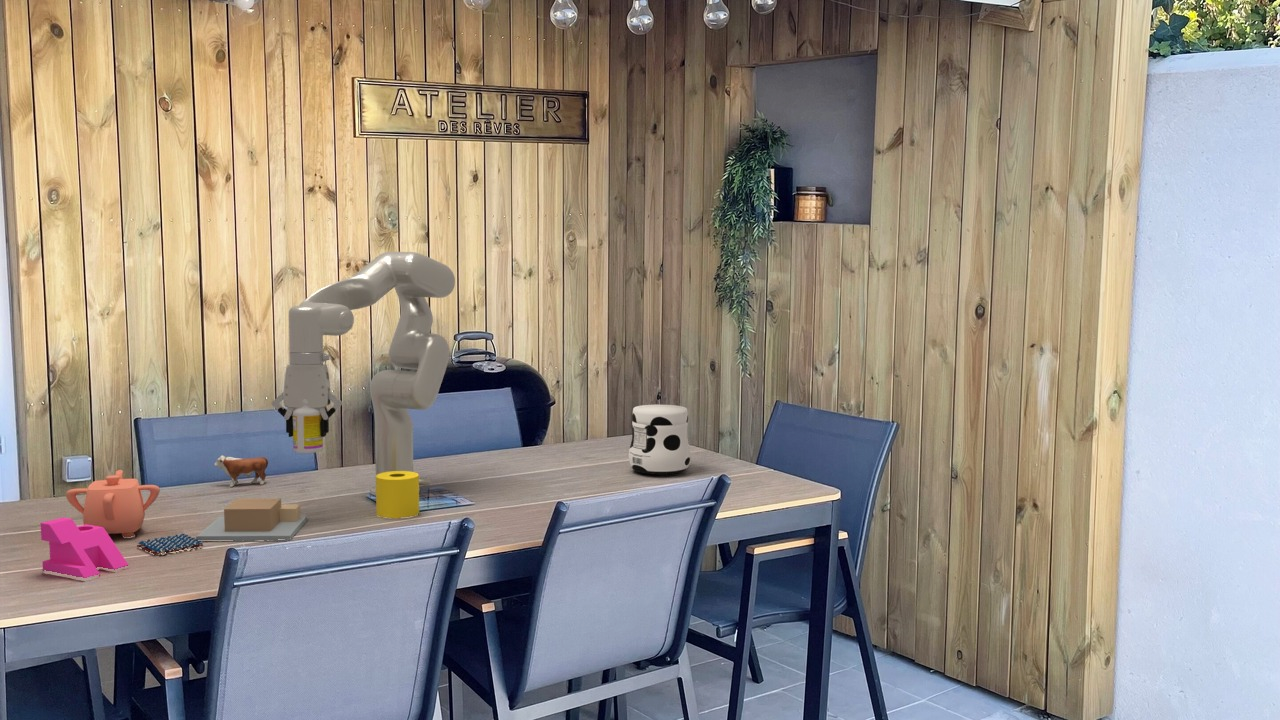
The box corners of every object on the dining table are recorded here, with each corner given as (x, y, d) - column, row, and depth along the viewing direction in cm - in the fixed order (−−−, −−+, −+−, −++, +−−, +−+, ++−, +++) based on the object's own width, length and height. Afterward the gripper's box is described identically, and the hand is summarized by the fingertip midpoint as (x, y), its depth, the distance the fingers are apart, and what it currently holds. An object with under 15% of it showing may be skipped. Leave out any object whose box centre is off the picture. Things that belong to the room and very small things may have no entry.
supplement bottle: (328, 450, 283) (327, 395, 282) (312, 454, 277) (311, 399, 275) (303, 448, 285) (303, 393, 284) (287, 452, 279) (286, 397, 278)
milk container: (694, 467, 346) (695, 404, 344) (685, 479, 329) (686, 414, 327) (634, 464, 349) (635, 402, 347) (623, 477, 332) (623, 412, 330)
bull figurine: (215, 485, 318) (214, 454, 317) (268, 482, 323) (267, 451, 322) (214, 488, 314) (213, 457, 313) (268, 485, 318) (268, 454, 317)
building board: (307, 520, 282) (306, 494, 281) (289, 541, 264) (289, 513, 263) (220, 521, 281) (219, 494, 280) (196, 541, 263) (195, 513, 262)
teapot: (110, 546, 258) (108, 486, 257) (59, 537, 265) (56, 478, 264) (171, 529, 273) (169, 472, 272) (122, 521, 280) (119, 465, 279)
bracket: (43, 573, 239) (40, 523, 238) (87, 561, 248) (85, 511, 247) (84, 582, 233) (82, 530, 232) (128, 569, 243) (126, 518, 241)
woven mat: (134, 550, 258) (134, 541, 257) (183, 541, 265) (183, 532, 265) (155, 560, 250) (155, 550, 250) (205, 550, 258) (204, 541, 257)
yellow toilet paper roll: (419, 508, 295) (418, 470, 293) (419, 518, 285) (418, 479, 284) (377, 509, 293) (376, 471, 292) (375, 519, 283) (374, 480, 282)
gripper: (347, 357, 283) (348, 433, 285) (271, 357, 282) (273, 433, 284) (341, 361, 276) (342, 438, 277) (264, 360, 274) (265, 438, 276)
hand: (307, 435), depth 281 cm, fingers closed on supplement bottle, 6 cm apart
